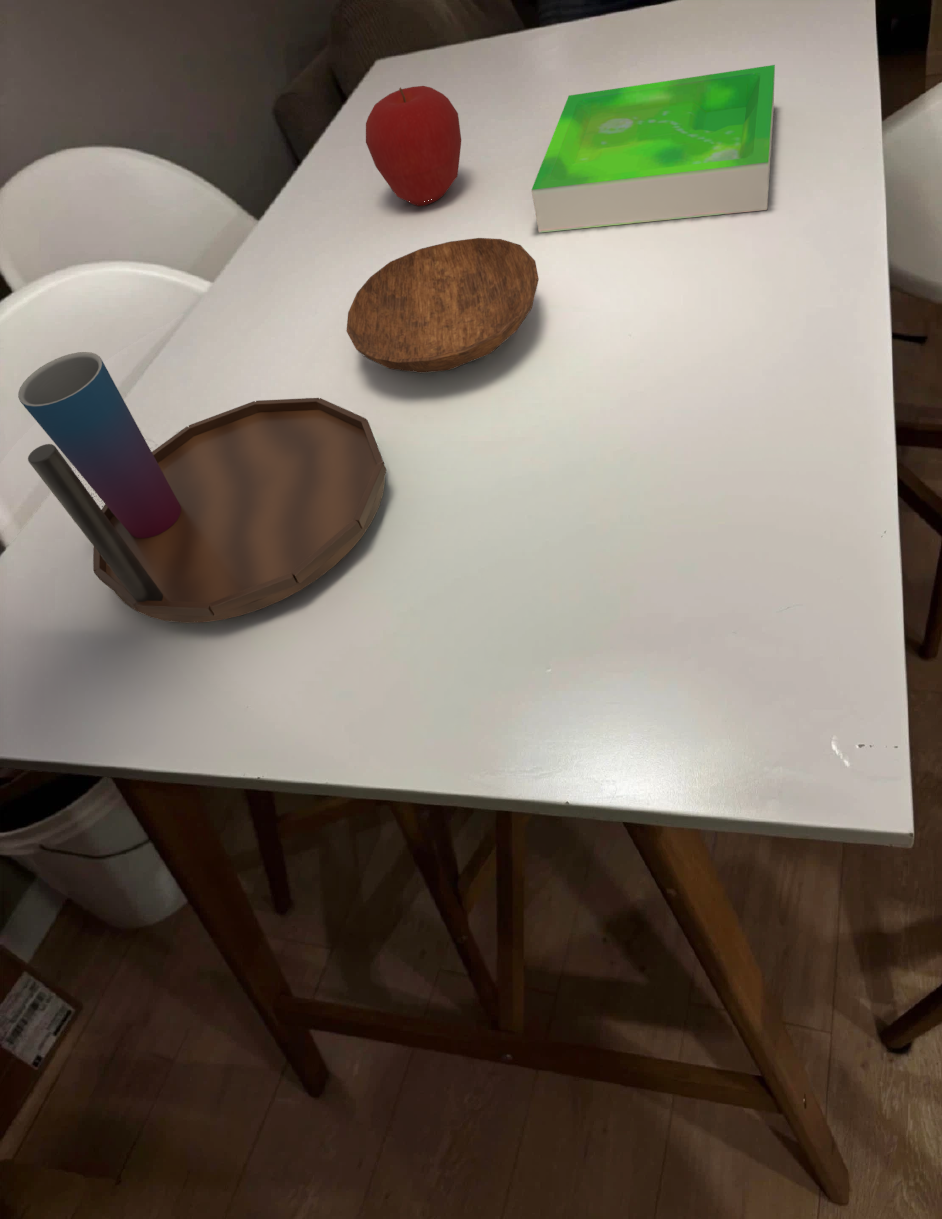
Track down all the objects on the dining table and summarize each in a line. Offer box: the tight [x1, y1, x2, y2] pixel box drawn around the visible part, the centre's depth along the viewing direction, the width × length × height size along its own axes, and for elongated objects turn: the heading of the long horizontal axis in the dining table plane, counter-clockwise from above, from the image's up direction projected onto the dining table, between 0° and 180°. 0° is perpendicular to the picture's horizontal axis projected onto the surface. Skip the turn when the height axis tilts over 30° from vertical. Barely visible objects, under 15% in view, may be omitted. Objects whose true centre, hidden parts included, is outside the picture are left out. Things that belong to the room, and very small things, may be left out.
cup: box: [17, 351, 181, 538], centre depth 74 cm, size 7×7×15 cm
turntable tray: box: [27, 397, 387, 624], centre depth 73 cm, size 26×26×16 cm
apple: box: [365, 85, 462, 207], centre depth 110 cm, size 12×12×13 cm
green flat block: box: [531, 64, 776, 234], centre depth 104 cm, size 25×25×5 cm
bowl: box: [345, 237, 540, 374], centre depth 90 cm, size 20×22×5 cm
